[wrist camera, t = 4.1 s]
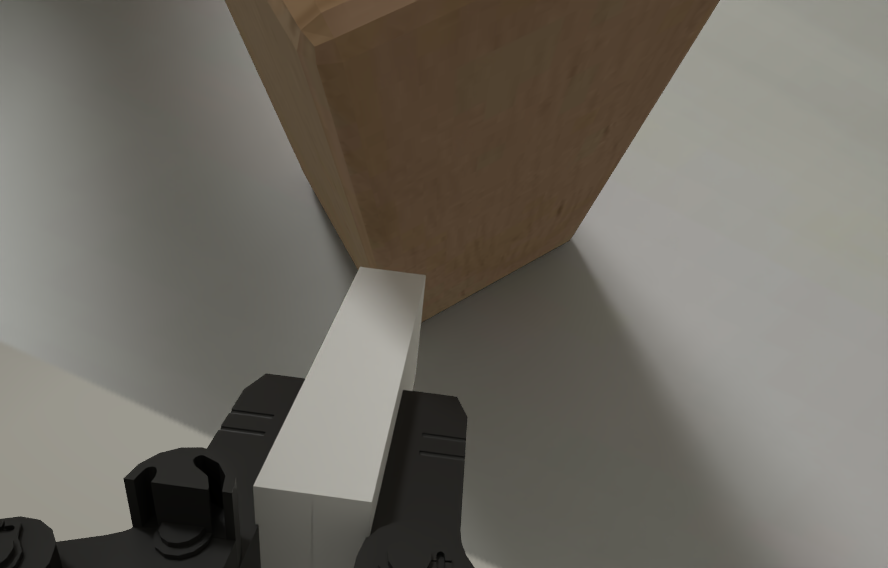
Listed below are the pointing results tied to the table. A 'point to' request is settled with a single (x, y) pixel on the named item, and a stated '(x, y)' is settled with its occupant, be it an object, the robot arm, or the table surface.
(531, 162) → the wooden block
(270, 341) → the table surface
